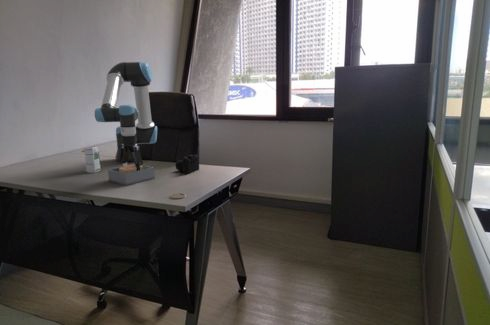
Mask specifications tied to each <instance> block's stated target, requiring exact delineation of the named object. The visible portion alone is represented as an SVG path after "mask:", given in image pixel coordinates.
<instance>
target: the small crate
mask: <svg viewBox="0 0 490 325" xmlns="http://www.w3.org/2000/svg"><path fill="white" fill-rule="evenodd" d="M130 165H131V166H126V167H122V166H121V167H122V168H119V167H118V168H119V172H122V173H131V172H135V167H134V166H135V165H133V164H130ZM140 170H143V166H140Z"/></svg>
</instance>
